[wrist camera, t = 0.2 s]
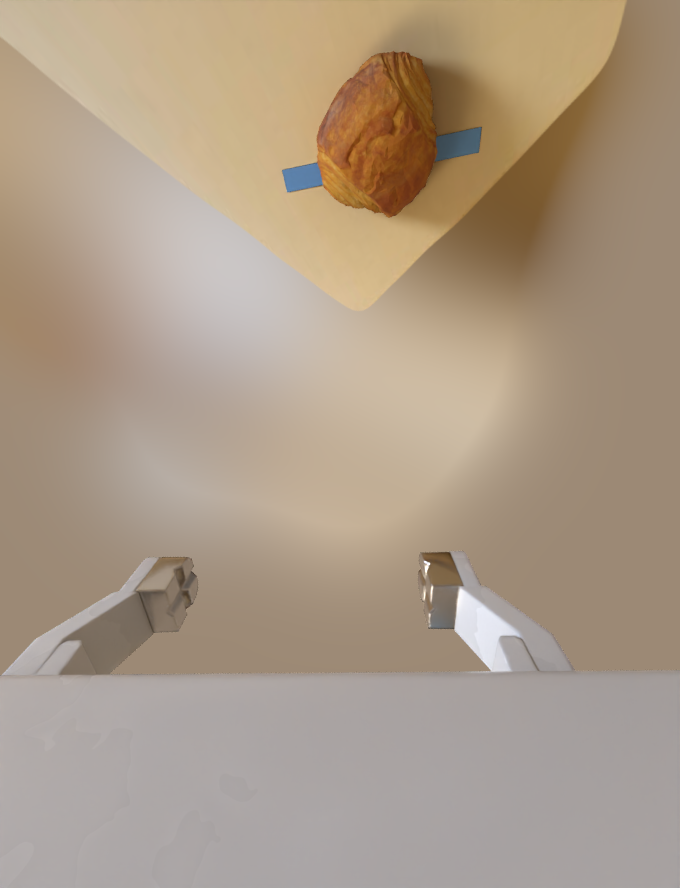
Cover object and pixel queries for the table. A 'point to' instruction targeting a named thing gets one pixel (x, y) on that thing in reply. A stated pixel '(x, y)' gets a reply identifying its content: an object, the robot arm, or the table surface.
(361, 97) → the croissant
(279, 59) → the table surface
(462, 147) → the tape line
